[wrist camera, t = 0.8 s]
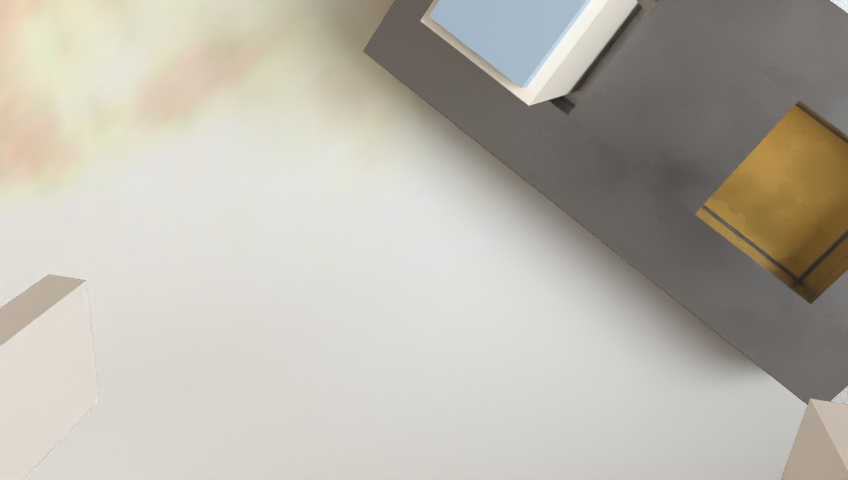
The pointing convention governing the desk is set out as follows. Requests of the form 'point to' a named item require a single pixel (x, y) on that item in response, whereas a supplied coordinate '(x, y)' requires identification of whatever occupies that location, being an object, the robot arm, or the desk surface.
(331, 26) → the desk surface
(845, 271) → the panel block
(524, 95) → the plug
